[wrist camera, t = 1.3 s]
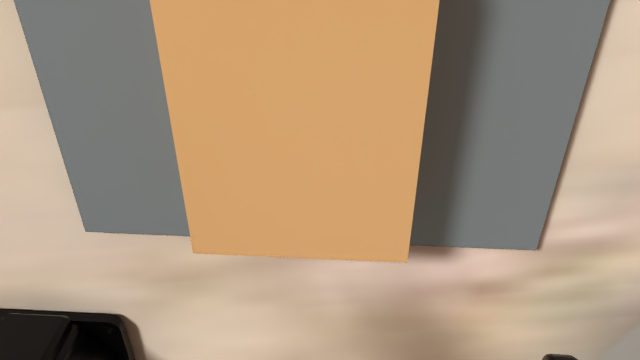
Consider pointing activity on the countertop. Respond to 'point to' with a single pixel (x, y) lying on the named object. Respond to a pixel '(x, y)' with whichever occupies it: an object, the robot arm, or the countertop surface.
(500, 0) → the mat
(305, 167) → the orange flat block
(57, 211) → the countertop surface
